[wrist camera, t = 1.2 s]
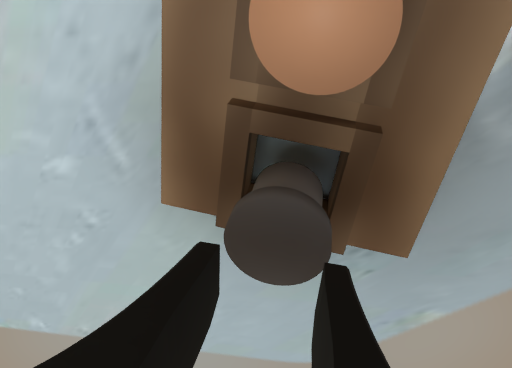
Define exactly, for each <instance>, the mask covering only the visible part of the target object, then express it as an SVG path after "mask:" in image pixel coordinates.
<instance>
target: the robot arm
mask: <svg viewBox="0 0 512 368" xmlns="http://www.w3.org/2000/svg"><path fill="white" fill-rule="evenodd" d="M219 271H220V245H217V244H211V243H206V242H199V243H197V244H196V245H195V246H194V247H193V248H192V249H191V250H190V251H189V252H188V253H187V254H186V255H185V256H184V257H183V258H182V259H181V260H180V261H179V262H178V263H177V264H176V265H175V266H174V267H173V268H172V269H171V270H170V271H169V272H168V273H166V274H165V275H164V276H163V277H162V278H161V279H160V280H159V281H158V282H156V283H155V284H154V285H153V286H152V287H151V288H150V289H149V290H147V291H146V292H145V293H144V294H143V295H141V296H140V297H139V298H138V299H136V300H135V301H134V302H133V303H132V304H130V305H129V306H128V307H127V308H125V309H124V310H123V311H121V312H120V313H119V314H117V315H116V316H115V317H113V318H112V319H111V320H109V321H108V322H107V323H105V324H104V325H102V326H101V327H99V328H98V329H97V330H95V331H94V332H92V333H91V334H89V335H88V336H86V337H84V338H83V339H81V340H80V341H78V342H77V343H75V344H73V345H72V346H70V347H69V348H67V349H66V350H64V351H62V352H60V353H59V354H57V355H55V356H54V357H52V358H50V359H49V360H47V361H45V362H43V363H41V364H39V365H37V366H35V367H34V368H193V366H194V364H195V361H196V359H197V356H198V354H199V352H200V349H201V347H202V344H203V342H204V340H205V337H206V335H207V332H208V330H209V327H210V325H211V321H212V318H213V315H214V311H215V308H216V304H217V301H218V297H219ZM312 368H390V366H389V364H388V362H387V361H386V359H385V356H384V354H383V353H382V351H381V349H380V347H379V345H378V343H377V341H376V338H375V336H374V334H373V332H372V330H371V328H370V325H369V323H368V321H367V319H366V316H365V314H364V312H363V309H362V307H361V304H360V302H359V299H358V296H357V294H356V291H355V288H354V285H353V282H352V278H351V275H350V271H349V269H348V268H347V267H346V266H342V265H336V264H330V263H324V268H323V273H322V278H321V283H320V288H319V294H318V299H317V304H316V309H315V316H314V327H313V337H312Z"/></svg>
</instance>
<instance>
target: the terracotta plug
mask: <svg viewBox="0 0 512 368" xmlns="http://www.w3.org/2000/svg"><path fill="white" fill-rule="evenodd" d="M402 15H403V0H251V1H250V7H249V30H250V35H251V40H252V43H253V46H254V49H255V51H256V54H257V56H258V58H259V59H260V61H261V63H262V64H263V66H264V67H265V68H266V69H267V71H268V72H269V73H270V74H271V75H272V76H273V77H274V78H275V79H277V80H278V81H279V82H281V83H282V84H283V85H285V86H287V87H289V88H291V89H293V90H296V91H298V92H302V93H306V94H312V95H330V94H336V93H340V92H344V91H346V90H349V89H351V88H354V87H355V86H357V85H359V84H361V83H362V82H364V81H365V80H367V79H368V78H369V77H371V76H372V75H373V74H374V73H375V72H376V71H377V70H378V69H379V68H380V67H381V66H382V64H383V63H384V62H385V61H386V59H387V58H388V56H389V55H390V53H391V51H392V49H393V47H394V45H395V43H396V40H397V38H398V35H399V32H400V27H401V23H402Z"/></svg>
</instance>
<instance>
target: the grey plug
mask: <svg viewBox="0 0 512 368" xmlns="http://www.w3.org/2000/svg"><path fill="white" fill-rule="evenodd" d="M322 201H323V188H322V185H321V182H320V180H319V179H318V177H317V176H316V175H315V174H314V173H313V172H312V171H311V170H310V169H308V168H307V167H305V166H303V165H301V164H298V163H293V162H279V163H275V164H272V165H270V166H268V167H267V168H265V169H264V170H263V171H262V172H261V173H260V174H259V176H258V177H257V179H256V182H255V184H254V187H253V190H252V191H251V192H249V193H248V194H246V195H245V196H243V197H242V198H241V199H240V200H239V201H238V202H237V203H236V205H235V206H234V208H233V210H232V212H231V215H230V217H229V219H228V222H227V224H226V227H225V231H224V244H225V248H226V251H227V253H228V255H229V257H230V258H231V260H232V261H233V262H234V264H235V265H236V266H237V267H238V268H239V269H240V270H242V271H243V272H244V273H245V274H247V275H249V276H250V277H252V278H254V279H256V280H259V281H261V282H264V283H268V284H273V285H295V284H300V283H303V282H306V281H308V280H310V279H312V278H314V277H315V276H317V275H318V274H319V273H320V272H322V270H323V268H324V263H328V261H329V259H330V256H331V247H332V227H331V223H330V220H329V217H328V215H327V213H326V212H325V210H324V209H323V208H322Z"/></svg>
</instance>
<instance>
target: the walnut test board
mask: <svg viewBox="0 0 512 368" xmlns="http://www.w3.org/2000/svg"><path fill="white" fill-rule="evenodd" d="M250 1H251V0H162V134H161V203H162V204H166V205H171V206H175V207H180V208H184V209H189V210H193V211H198V212H202V213H207V214H211V215H216V226H217V227H222V228H225V227H226V224H227V222H228V219H229V217H230V215H231V212H232V210H233V208H234V206H235V205H236V203H237V202H238V201H239V200H240V199H241V198H242V197H243V196H245V195H246V194H248V193H249V192H251V191H252V190H253V187H254V184H253V183H251V178H252V171H253V164H254V157H255V150H256V144H257V137H258V134H259V135H264V136H269V137H274V138H279V139H284V140H289V141H294V142H299V143H304V144H309V145H314V146H319V147H324V148H329V149H334V150H339V151H341V154H340V158H339V161H338V165H337V168H336V172H335V176H334V179H333V183H332V187H331V190H330V194H329V197H328V199H323V201H322V208H323V209H324V210H325V212H326V213H327V215H328V217H329V220H330V223H331V227H332V247H331V252H333V253H337V254H342V255H343V254H344V251H345V248H346V245H351V246H355V247H360V248H364V249H369V250H373V251H378V252H382V253H387V254H391V255H396V256H400V257H405V258H408V256H409V253H410V251H411V249H412V247H413V244H414V242H415V240H416V238H417V236H418V233H419V231H420V229H421V227H422V224H423V222H424V220H425V218H426V215H427V213H428V211H429V209H430V206H431V204H432V202H433V200H434V198H435V195H436V193H437V191H438V189H439V186H440V184H441V182H442V180H443V177H444V175H445V173H446V171H447V169H448V166H449V164H450V162H451V160H452V157H453V155H454V153H455V151H456V148H457V146H458V144H459V142H460V140H461V137H462V135H463V133H464V131H465V128H466V126H467V124H468V122H469V119H470V117H471V115H472V113H473V110H474V108H475V106H476V104H477V102H478V99H479V97H480V95H481V93H482V90H483V88H484V86H485V84H486V81H487V79H488V77H489V75H490V73H491V70H492V68H493V66H494V64H495V61H496V59H497V57H498V55H499V52H500V50H501V48H502V46H503V44H504V41H505V39H506V37H507V35H508V32H509V30H510V28H511V26H512V0H403V15H402V23H401V27H400V32H399V35H398V38H397V40H396V43H395V45H394V47H393V49H392V51H391V53H390V55H389V56H388V58H387V59H386V61H385V62H384V63H383V64H382V66H381V67H380V68H379V69H378V70H377V71H376V72H375V73H374V74H373V75H372V76H371V77H369V78H368V79H367V80H365V81H364V82H362V83H361V84H359V85H357V86H355V87H354V88H351V89H349V90H346V91H344V92H340V93H336V94H330V95H312V94H306V93H302V92H298V91H296V90H293V89H291V88H289V87H287V86H285V85H283V84H282V83H281V82H279V81H278V80H277V79H275V78H274V77H273V76H272V75H271V74H270V73H269V72H268V71H267V69H266V68H265V67H264V66H263V64H262V63H261V61H260V59H259V58H258V56H257V54H256V51H255V49H254V46H253V43H252V40H251V35H250V30H249V7H250Z"/></svg>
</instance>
